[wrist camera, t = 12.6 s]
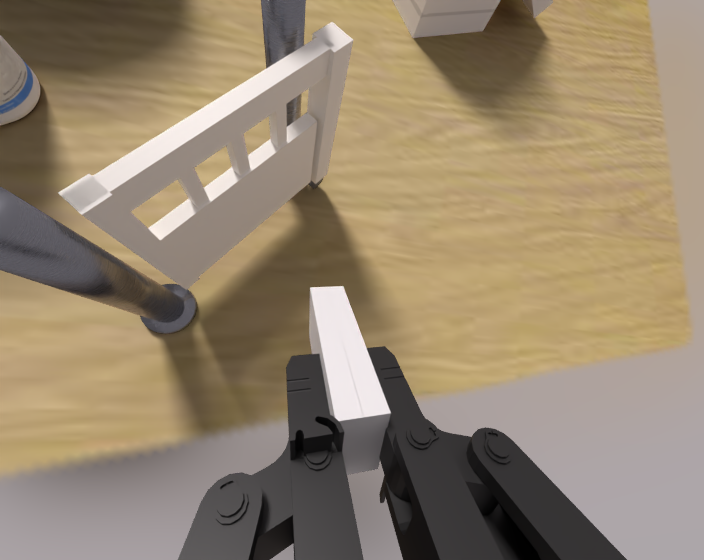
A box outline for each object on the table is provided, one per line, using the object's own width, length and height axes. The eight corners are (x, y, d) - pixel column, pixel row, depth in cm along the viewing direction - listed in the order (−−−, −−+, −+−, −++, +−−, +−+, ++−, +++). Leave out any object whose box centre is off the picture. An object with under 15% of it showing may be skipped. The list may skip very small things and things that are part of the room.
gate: (195, 297, 30) (84, 217, 14) (181, 284, 30) (54, 189, 14) (324, 184, 37) (353, 39, 21) (313, 173, 37) (332, 21, 21)
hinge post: (140, 335, 29) (-139, 282, 10) (144, 286, 30) (-97, 157, 11) (196, 331, 30) (38, 276, 11) (197, 284, 31) (58, 163, 12)
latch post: (266, 182, 36) (237, -39, 16) (265, 147, 37) (237, -96, 18) (307, 183, 37) (327, -22, 17) (305, 150, 38) (321, -77, 19)
